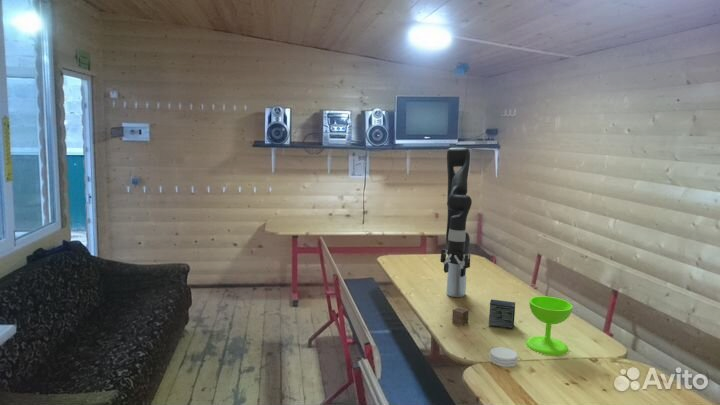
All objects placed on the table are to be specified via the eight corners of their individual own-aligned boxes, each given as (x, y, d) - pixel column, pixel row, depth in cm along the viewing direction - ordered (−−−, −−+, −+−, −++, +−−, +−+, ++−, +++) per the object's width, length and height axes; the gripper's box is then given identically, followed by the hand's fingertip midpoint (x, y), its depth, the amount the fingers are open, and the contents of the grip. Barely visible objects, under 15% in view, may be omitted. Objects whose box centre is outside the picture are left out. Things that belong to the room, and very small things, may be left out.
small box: (514, 324, 218) (515, 301, 216) (513, 330, 212) (515, 306, 210) (489, 320, 221) (491, 298, 219) (488, 326, 215) (489, 303, 213)
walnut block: (458, 319, 222) (459, 306, 221) (467, 323, 218) (468, 310, 217) (452, 322, 218) (452, 309, 217) (461, 326, 215) (462, 312, 214)
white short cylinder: (490, 353, 190) (490, 344, 189) (517, 357, 187) (518, 348, 186) (489, 365, 180) (489, 356, 180) (517, 369, 177) (518, 360, 177)
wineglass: (546, 358, 186) (550, 313, 183) (517, 341, 200) (520, 298, 198) (577, 352, 192) (582, 307, 190) (547, 335, 207) (551, 294, 204)
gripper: (475, 241, 219) (472, 276, 221) (448, 235, 229) (445, 269, 231) (465, 243, 214) (462, 279, 216) (438, 237, 224) (436, 272, 226)
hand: (454, 274), depth 223 cm, fingers open, 8 cm apart
